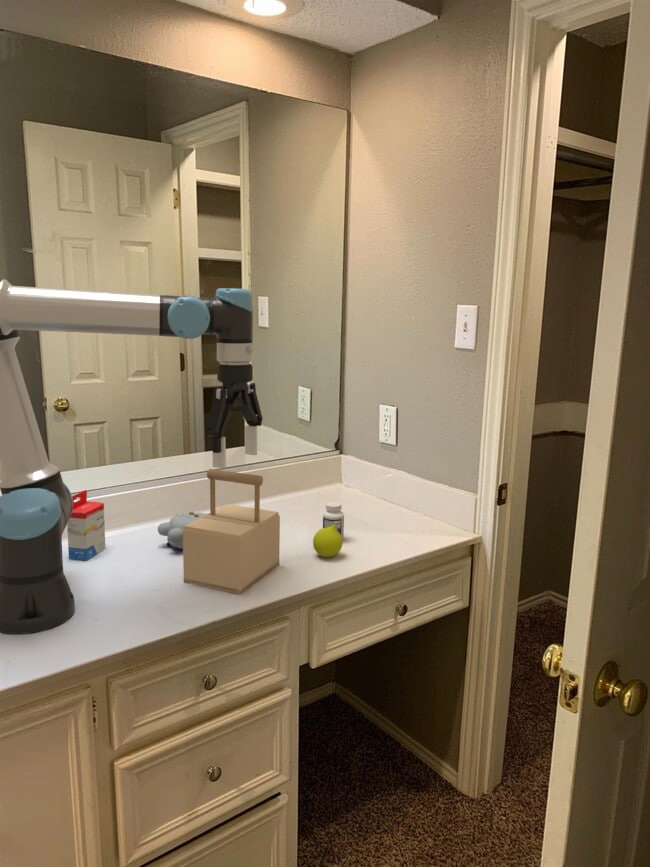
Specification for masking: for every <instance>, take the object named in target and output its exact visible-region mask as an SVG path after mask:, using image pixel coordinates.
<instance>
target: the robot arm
mask: <svg viewBox="0 0 650 867" xmlns="http://www.w3.org/2000/svg"><path fill="white" fill-rule="evenodd" d="M252 298H253V297H252V293H251V291H250V290H249V289H246V288H232V287H231V288H222V287H221V288H217V289H216V291H215V296H214V297H196V296H193V295H167V294H161V295H160V294H151V293H150V294H149V293H136V292H135V293H134V292H117V291H105V290H104V291H102V290H101V291H99V290H88V289H87V290H85V289H70V288H69V289H68V288H67V289H66V288H56V287H40V286H39V287H36V286H20V285H13V284H11V283H10V282H9V281H8V280H7V279H4V278H0V465H1V469H2V472H3V477H2V479H1V480H0V492H1V495H0V632H1V633H5V634H29V633H34V632H35V633H36V632H40V631H45V630H48V629H51V628H54V627H56V626H59V625H60V624H63V623H65V622H66V621H67V620H69V619H70V618H71V617H72V616H73V615H74V613H75V611H76V606H75V605H76V604H75V603H76V600H75V596H74V594H73V592H72V591H71V587H70V584H69V583H68V580H67V578H66V575H65V573H64V561H63V560H64V559H63V557H64V556H63V541H62V540H63V534H64V531H65V529H66V528H67V523H68V521H69V519H70V517H71V515H72V511H73V499H72V496H73V495H72V492H71V491H70V489H69V487H68V486H67V484H66V483H64V480H63V477H62V474H61V471H60V468H59V467H58V466H56V465H54V464H52V463H51V462H50V461H49V457H48V455H47V452H46V449H45V445H44V442H43V438H42V435H41V432H40V428H39V425H38V422H37V419H36V415H35V413H34V407H33V405H32V402H31V399H30V395H29V392H28V389H27V385H26V383H25V378H24V374H23V373H22V369H21V365H20V362H19V359H18V357H17V353H16V350H15V349H16V346H17V344H18V342H19V341H20V338H21V337H20V334H19V331H20V330H21V331H38V332H39V331H41V332H60V333H61V332H63V333H87V334H108V335H109V334H111V335H133V336H155V337H168V338H169V337H170V338H172V337H173V338H182V339H186V340H187V339H188V340H191V339H193V340H194V339H197V338H199V337H201V336H202V335H215V336H216V361H217V362H219V363H217V364H218V365H217V366H216V377H217V378H216V380H217V381H218V382H220V383H221V384H222V388H216V387H214V389H213V392H212V401H211V407H210V409H209V413H208V417H207V423H206V427H205V432H204V434H205V435H206V436H207V437H210V438H211V447H212V448H211V450H212V451H211V452H212V467H213V468H216V469H226V467H227V461H226V460H227V459H226V456H227V454H226V452H227V451H226V450H227V448H226V447H227V446H226V437H225V436H224V434H225V431H226V429H227V427H228V423H229V421H230V418H231V416H232V414H233V411H235V410H236V408H238V409H239V410H240V413H241V415H242V417H243V419H244V421H245V423H246V424H247V425H245V426H244V454H245V455H247V456H250V455H251V456H257V455H258V427H261V426H262V424H263V415H262V414H263V413H262V412H261V407H260V403H259V400H258V396H257V391H256V389H257V388H256V387H257V386H256V383H255V382H253V380H254V375H253V374H254V370H253V369H254V366H253V364H252V363H250V362H253V352H254V348H253V329H254V328H253V321H254V318H253V317H254V310H253V299H252Z"/></svg>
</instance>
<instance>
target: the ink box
mask: <svg viewBox="0 0 650 867" xmlns="http://www.w3.org/2000/svg"><path fill="white" fill-rule="evenodd" d="M87 496H88V491H87V489H85V490H82V491H81V492H78V493H75V494H74V495H72V499H73V511H72V515H71V517H70V519H69V521H68V523H67V525H66V528H67V529H66V530H67V545H68V546H67V547H68V559H69V560H77V561H89V560H90V559H92V558H94V557H95V556H96V555H98V554H100V553H101V552H103V551H104V550H106V532H105V531H106V530H105V529H106V527H105V524H106V523H105V502H100V501H90V500H89V501H87V500H88V497H87ZM77 498H78V499H79V498H80V499H79V500H77ZM76 500H77V501H76ZM74 501H75V502H74Z"/></svg>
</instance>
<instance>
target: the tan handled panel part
mask: <svg viewBox="0 0 650 867" xmlns="http://www.w3.org/2000/svg"><path fill="white" fill-rule="evenodd" d="M206 478H207V479H208V480H209V485H210V486H209V492H210V494H209V495H210V496H209V500H210V502H209V505H210V506H209V507H210V512H208V513H206V514H207V515H211V516H217V517H223V518H229V519H235V520H241V521H247V522H253V523H259V524H260V526H262V525H264V524H265V523H267V522H269V521H270V520H272V519H274V518H275V517H277V516H278V515H279V511H274V510H268V509H261V507H260V506H261V505H260V502H261V501H260V500H261V499H260V491H261V490H260V488H261V486H262V485H263V484H264V483H263V482H264V479H263V476H262V475H257V474H250V473H244V472H243V473H242V472H236V471H229V470H222V469H221V470H220V469H213V468H209V469H208V470H207V472H206ZM216 481H222V482H229V483H235V484H241V485H242V484H243V485H249V486H254V507H248V506H241V505H236V504H235V505H234V504H231V503H229V504H228V503H226V504H224V505H223V506H221V507H219V508H216Z"/></svg>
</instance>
